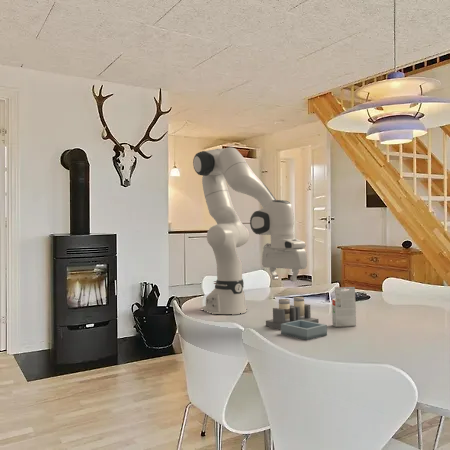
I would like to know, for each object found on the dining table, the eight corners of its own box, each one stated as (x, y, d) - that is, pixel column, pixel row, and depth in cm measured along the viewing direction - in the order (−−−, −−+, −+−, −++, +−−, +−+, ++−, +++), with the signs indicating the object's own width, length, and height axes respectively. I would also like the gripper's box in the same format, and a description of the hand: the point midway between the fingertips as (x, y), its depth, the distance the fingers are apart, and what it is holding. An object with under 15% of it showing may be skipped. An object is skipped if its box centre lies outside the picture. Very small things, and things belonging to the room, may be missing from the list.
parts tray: (281, 333, 160) (280, 323, 160) (300, 329, 167) (300, 319, 167) (307, 340, 151) (307, 329, 151) (327, 335, 157) (326, 324, 157)
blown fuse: (276, 321, 172) (276, 299, 172) (284, 319, 174) (284, 298, 174) (284, 323, 169) (284, 301, 169) (292, 321, 171) (291, 299, 171)
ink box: (332, 325, 172) (331, 286, 172) (352, 324, 173) (351, 285, 173) (335, 327, 169) (334, 287, 169) (356, 326, 170) (355, 286, 170)
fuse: (291, 318, 177) (291, 297, 177) (299, 316, 179) (298, 296, 179) (299, 319, 174) (299, 298, 174) (306, 318, 176) (306, 297, 176)
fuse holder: (265, 325, 174) (265, 307, 174) (295, 319, 184) (294, 302, 184) (289, 331, 164) (288, 311, 164) (318, 324, 174) (318, 305, 174)
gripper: (257, 243, 178) (259, 279, 177) (296, 243, 161) (298, 283, 161) (269, 242, 181) (270, 278, 181) (309, 242, 165) (310, 281, 165)
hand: (284, 280), depth 171 cm, fingers open, 8 cm apart
